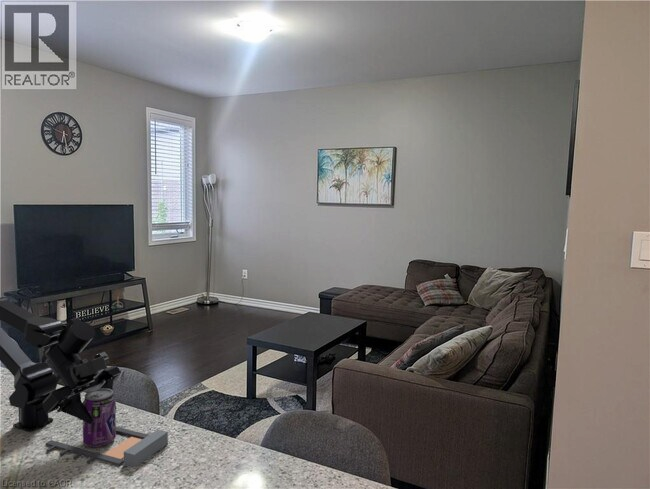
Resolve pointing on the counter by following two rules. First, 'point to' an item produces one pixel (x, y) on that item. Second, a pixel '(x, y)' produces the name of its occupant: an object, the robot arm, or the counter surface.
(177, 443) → the counter surface
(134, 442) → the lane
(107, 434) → the beverage can
